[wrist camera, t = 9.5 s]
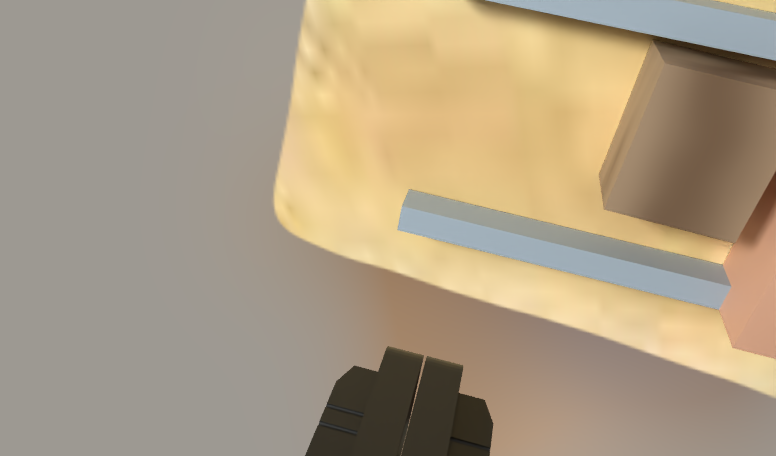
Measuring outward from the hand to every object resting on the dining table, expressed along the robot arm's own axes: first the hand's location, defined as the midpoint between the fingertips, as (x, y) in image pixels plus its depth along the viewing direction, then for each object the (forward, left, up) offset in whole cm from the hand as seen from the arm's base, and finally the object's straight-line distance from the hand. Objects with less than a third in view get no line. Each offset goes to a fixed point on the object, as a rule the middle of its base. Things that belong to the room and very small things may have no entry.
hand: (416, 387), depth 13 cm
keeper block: (-9, +1, -23) cm, 25 cm away
